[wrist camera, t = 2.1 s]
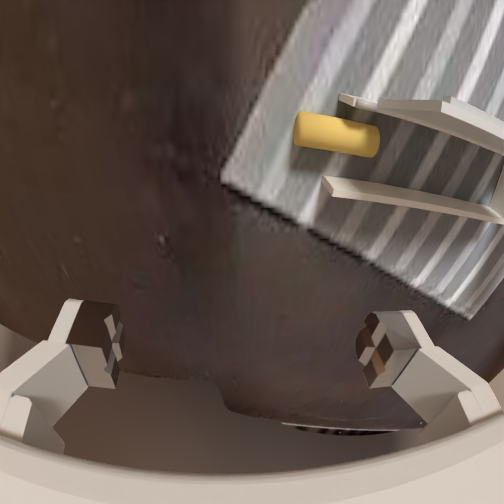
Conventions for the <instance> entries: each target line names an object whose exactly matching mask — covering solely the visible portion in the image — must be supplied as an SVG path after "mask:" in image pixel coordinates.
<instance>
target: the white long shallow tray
mask: <svg viewBox="0 0 504 504" xmlns="http://www.w3.org/2000/svg"><path fill="white" fill-rule="evenodd" d="M339 101H342V102H344V103H346V104H349V105H351V106H354V107H356V108H359V109H363V110H367V111H371V112H378V113H382V114H386V115H390V116H393V117H397V118H400V119H404V120H407V121H410V122H414V123H417V124H420V125H423V126H426V127H429V128H432V129H435V130H438V131H441V132H444V133H447V134H450V135H453V136H455V137H458V138H461V139H463V140H466V141H469V142H471V143H474V144H476V145H479V146H481V147H484V148H486V149H488V150H491V151H493V152H495V153H498V154H500V155H502V156H504V153H502V152H500V151H498V150H496V149H494V148H491V147H489V146H487V145H484V144H482V143H479V142H477V141H475V140H472V139H470V138H467V137H465V136H462V135H459V134H457V133H454V132H451V131H449V130H446V129H443V128H440V127H437V126H434V125H432V124H429V123H426V122H422V121H419V120H416V119H413V118H410V117H407V116H403V115H400V114H396V113H393V112H389V111H386V110H382V109H378V108H377V104H378V102H375V101H371V100H367V99H364V98H360V97H355V96H351V95H347V94H343V93H340V95H339ZM321 182H322V183H323V184H324V186H325V187H326V189H327V190H328V191H329V193H330V194H331V196H333V197H341V198H349V199H357V200H364V201H371V202H378V203H385V204H392V205H399V206H405V207H411V208H417V209H423V210H429V211H435V212H441V213H447V214H452V215H457V216H463V217H468V218H473V219H478V220H483V221H488V222H493V223H498V224H502V225H504V165H503V169H502V172H501V175H500V178H499V180H498V183H497V186H496V189H495V192H494V194H493V197H492V200H491V202H490V205H489V206H485V205H481V204H477V203H472V202H468V201H464V200H460V199H455V198H451V197H446V196H442V195H437V194H432V193H427V192H423V191H417V190H412V189H407V188H402V187H396V186H391V185H385V184H380V183H374V182H368V181H361V180H355V179H348V178H342V177H335V176H328V175H323V177H322V181H321Z"/></svg>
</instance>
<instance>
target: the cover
mask: <svg viewBox="0 0 504 504" xmlns="http://www.w3.org/2000/svg"><path fill="white" fill-rule="evenodd" d="M377 108H378V109H382V110H386V111H389V112H393V113H396V114H400V115H403V116H407V117H410V118H413V119H416V120H419V121H422V122H426V123H429V124H432V125H434V126H437V127H440V128H443V129H446V130H449V131H451V132H454V133H457V134H459V135H462V136H465V137H467V138H470V139H472V140H475V141H477V142H479V143H482V144H484V145H487V146H489V147H491V148H494V149H496V150H498V151H500V152H502V153H504V122H503V121H501V120H499V119H497V118H496V117H494V116H492V115H490V114H488V113H486V112H484V111H482V110H480V109H478V108H476V107H474V106H472V105H469V104H467V103H465V102H463V101H461V100H459V99H456V98H454V97H452V96H443V101H438V100H378V104H377Z"/></svg>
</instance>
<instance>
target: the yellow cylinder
mask: <svg viewBox="0 0 504 504" xmlns="http://www.w3.org/2000/svg"><path fill="white" fill-rule="evenodd" d="M293 138H294V144H295V145H296V146H303V147H310V148H316V149H323V150H329V151H335V152H341V153H347V154H353V155H358V156H363V157H369V158H372V157H374V156H375V155H376V153H377V151H378V148H379V145H380V133H379V130H378V128H377V127H376V126H373V125H369V124H364V123H360V122H355V121H351V120H346V119H341V118H336V117H331V116H325V115H320V114H314V113H308V112H302V111H300V112H299V113H298V114H297V117H296V121H295V127H294V134H293Z"/></svg>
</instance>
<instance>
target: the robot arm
mask: <svg viewBox="0 0 504 504" xmlns="http://www.w3.org/2000/svg"><path fill="white" fill-rule="evenodd" d="M120 315H121V314H120V309H119V306H118V305H117V304H109V303H101V302H93V301H85V300H84V301H82V300H75V299H68V300H67V301H65V303H64V305H63V307H62V309H61V311H60V314H59V316H58V318H57V320H56V322H55V325H54V327H53V329H52V332H51V334H50V336H49V339H48V341H44V340H43V341H42V342H40V343H39V344H38V345H36V346H35V347H34V348H32V349H31V350H30V351H28V352H27V353H26V354H24V355H23V356H22V357H21V358H19V359H18V360H16V361H15V362H14V363H13V364H11V365H10V366H9V367H7V368H6V369H5V370H4V371H2V372H1V373H0V504H504V413H503V411H502V409H501V407H500V405H499V403H498V401H497V399H496V397H495V395H494V394H493V392H492V390H491V388H490V386H489V384H488V383H487V382H486V381H485V380H483V379H482V378H481V377H479V376H478V375H477V374H475V373H474V372H473V371H471V370H470V369H469V368H467V367H466V366H464V365H463V364H462V363H460V362H459V361H458V360H456V359H455V358H453V357H452V356H451V355H449V354H448V353H447V352H445V351H444V350H442V349H441V348H440V347H435V346H434V345H433V343H432V341H431V339H430V338H429V336H428V334H427V332H426V331H425V329H424V327H423V326H422V324H421V322H420V320H419V319H418V317H417V315H416V314H415V313H414V312H413V311H411V310H409V311H390V312H371V313H370V314H369V315H368V316H367V318H366V320H365V324H366V327H365V328H364V329H362V330H361V331H360V332H359V334H358V336H357V339H356V354H357V357H358V360H359V361H360V362H362V363H363V364H364V365H365V367H364V370H363V373H364V376H365V378H366V381H367V384H368V386H369V388H377V387H386V386H392V388H393V389H394V390H395V391H396V392H397V393H398V394H399V395H400V396H401V397H402V398H403V399H404V400H405V401H406V402H407V403H408V404H409V405H410V406H411V407H412V408H413V409H414V410H415V411H416V412H417V413H418V414H419V415H420V416H421V417H422V418H423V419H424V420H425V421H426V422H427V423H428V424H427V425H426V426H425V427H424V428H423V429H422V430H421V431H420V432H419V434H418V437H419V440H420V443H421V445H417V446H414V447H410V448H407V449H403V450H400V451H396V452H392V453H388V454H384V455H380V456H376V457H371V458H367V459H362V460H357V461H352V462H346V463H341V464H335V465H329V466H322V467H316V468H308V469H299V470H289V471H279V472H265V473H245V474H244V473H241V474H203V473H181V472H167V471H156V470H146V469H138V468H130V467H123V466H117V465H110V464H105V463H99V462H94V461H89V460H84V459H79V458H75V457H71V456H66V455H63V451H64V442H63V440H62V439H61V438H60V437H59V436H58V434H57V433H56V432H55V431H54V430H53V429H52V427H53V426H54V424H55V423H56V422H57V421H58V420H59V419H60V418H61V417H62V416H63V414H64V413H65V412H66V411H67V410H68V409H69V408H70V407H71V406H72V404H73V403H74V402H75V401H76V400H77V399H78V398H79V397H80V395H81V394H82V393H83V392H84V391H85V390H86V389H87V388H88V386H97V387H104V388H113V389H116V385H117V380H118V375H119V371H120V369H119V366H118V362H117V361H119V360H120V359H121V358H122V357H123V352H124V342H125V336H124V328H123V325H122V324H121V323H120V322H119V319H120ZM87 385H88V386H87Z"/></svg>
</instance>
